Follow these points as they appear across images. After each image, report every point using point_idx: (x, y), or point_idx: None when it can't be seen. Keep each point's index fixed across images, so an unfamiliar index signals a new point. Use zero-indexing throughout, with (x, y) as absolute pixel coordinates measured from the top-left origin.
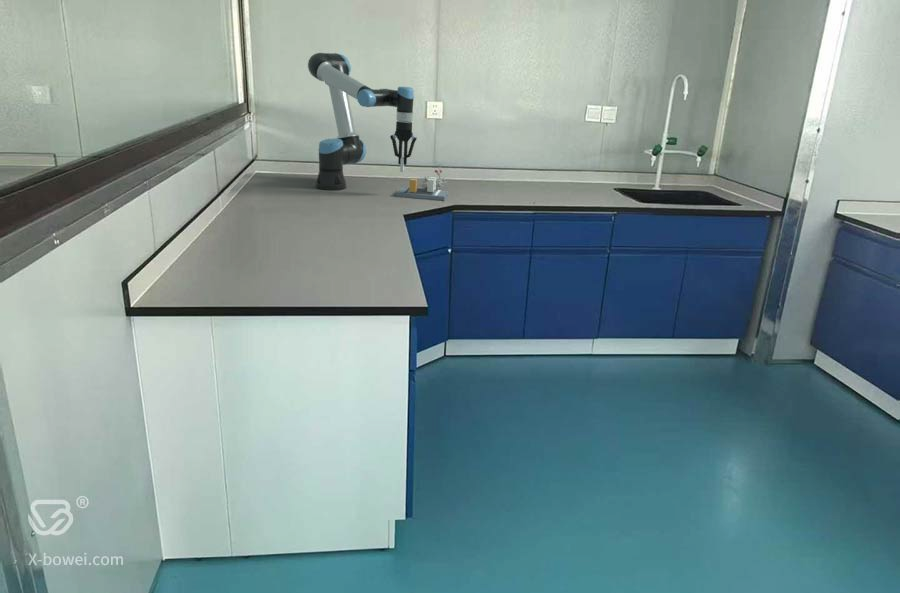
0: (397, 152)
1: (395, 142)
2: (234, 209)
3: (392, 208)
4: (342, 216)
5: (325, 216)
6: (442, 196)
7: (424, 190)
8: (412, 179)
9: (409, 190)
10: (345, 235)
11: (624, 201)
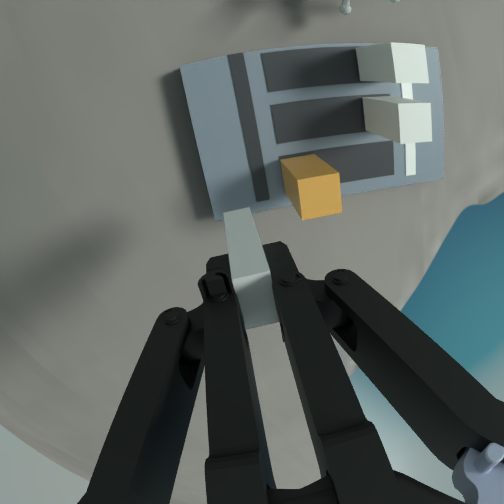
0: (181, 341)
1: (156, 480)
2: (52, 456)
3: (286, 369)
4: None
5: (186, 456)
6: (436, 179)
7: (336, 83)
8: (314, 197)
9: (287, 195)
10: (276, 480)
11: None
